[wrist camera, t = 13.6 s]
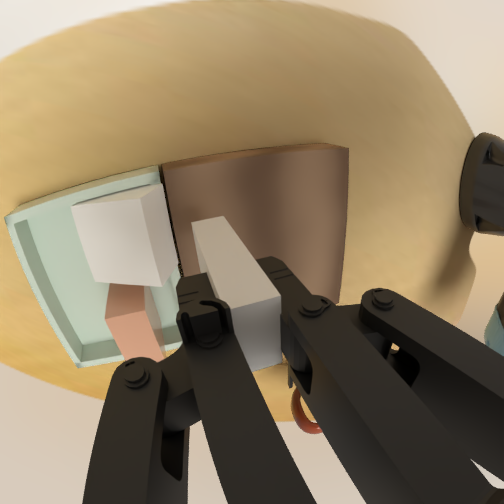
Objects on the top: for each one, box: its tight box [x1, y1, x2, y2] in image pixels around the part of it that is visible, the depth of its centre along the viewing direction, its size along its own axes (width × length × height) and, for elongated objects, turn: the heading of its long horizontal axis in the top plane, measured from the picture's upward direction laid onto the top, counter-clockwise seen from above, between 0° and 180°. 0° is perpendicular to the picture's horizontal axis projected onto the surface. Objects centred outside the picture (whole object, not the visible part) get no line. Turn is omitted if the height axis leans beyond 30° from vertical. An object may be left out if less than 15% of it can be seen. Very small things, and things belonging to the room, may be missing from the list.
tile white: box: [70, 184, 178, 287], centre depth 15 cm, size 5×5×2 cm
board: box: [162, 143, 349, 304], centre depth 20 cm, size 12×13×3 cm
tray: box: [4, 165, 183, 368], centre depth 17 cm, size 10×13×3 cm
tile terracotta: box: [105, 283, 167, 362], centre depth 17 cm, size 5×5×2 cm
